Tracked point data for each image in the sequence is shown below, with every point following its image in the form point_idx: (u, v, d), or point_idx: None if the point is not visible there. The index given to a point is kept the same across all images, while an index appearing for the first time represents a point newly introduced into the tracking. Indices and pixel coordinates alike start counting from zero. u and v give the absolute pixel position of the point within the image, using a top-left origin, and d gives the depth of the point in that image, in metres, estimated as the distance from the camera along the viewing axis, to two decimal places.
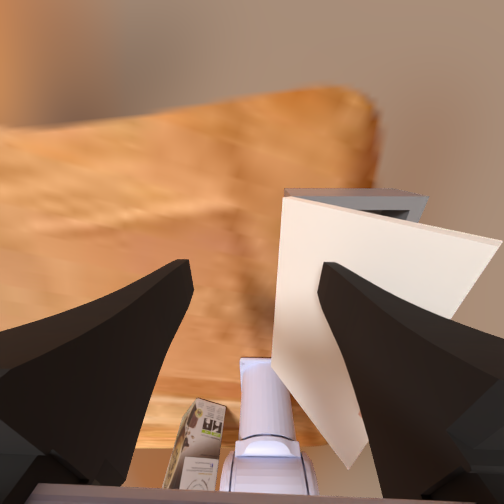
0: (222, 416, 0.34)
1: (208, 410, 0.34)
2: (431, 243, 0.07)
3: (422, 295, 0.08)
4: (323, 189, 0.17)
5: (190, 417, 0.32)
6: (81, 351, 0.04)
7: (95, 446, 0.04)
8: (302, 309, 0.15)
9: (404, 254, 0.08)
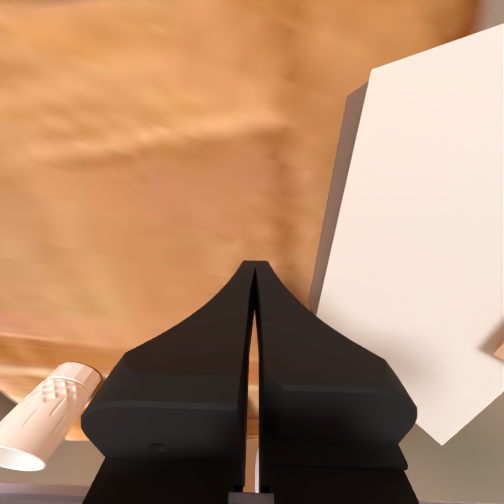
0: None
1: None
2: None
3: None
4: None
5: None
6: (244, 356, 0.04)
7: (244, 452, 0.04)
8: (385, 232, 0.11)
9: None
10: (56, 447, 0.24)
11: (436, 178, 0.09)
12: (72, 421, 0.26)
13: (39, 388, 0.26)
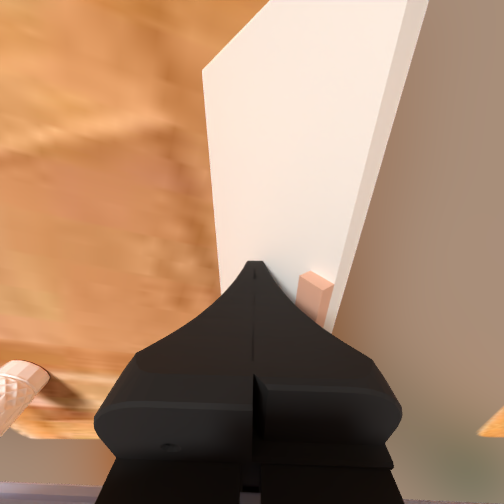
0: None
1: None
2: None
3: (342, 85, 0.04)
4: None
5: None
6: None
7: None
8: (235, 230, 0.11)
9: (315, 23, 0.05)
10: None
11: (245, 176, 0.09)
12: (11, 418, 0.26)
13: None
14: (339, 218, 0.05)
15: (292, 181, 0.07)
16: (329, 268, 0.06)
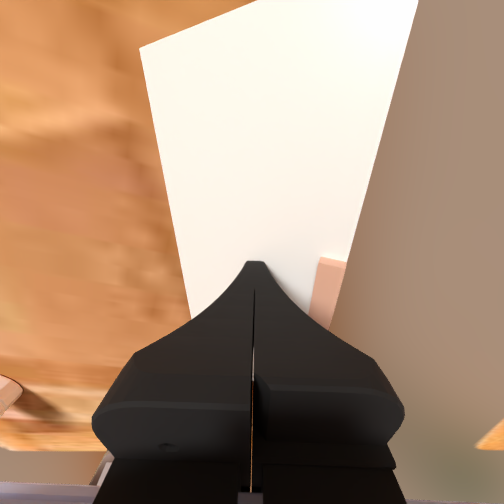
0: None
1: None
2: None
3: (351, 97, 0.05)
4: None
5: None
6: None
7: None
8: (213, 235, 0.10)
9: (321, 38, 0.05)
10: None
11: (229, 177, 0.08)
12: None
13: None
14: (350, 207, 0.07)
15: (297, 179, 0.07)
16: (341, 250, 0.07)
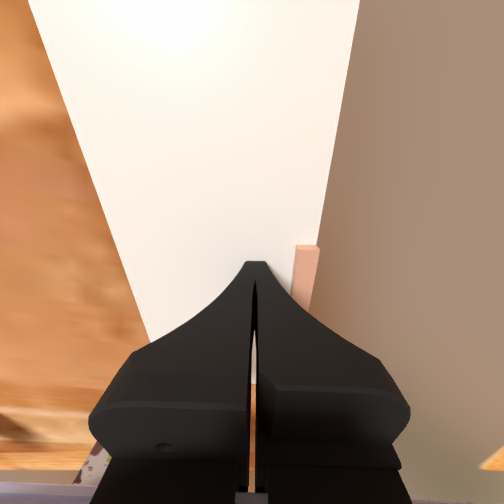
0: None
1: None
2: (307, 20, 0.06)
3: (311, 110, 0.07)
4: None
5: None
6: (249, 356, 0.04)
7: (248, 452, 0.04)
8: (178, 246, 0.09)
9: (284, 54, 0.06)
10: None
11: (195, 179, 0.08)
12: None
13: None
14: (316, 199, 0.08)
15: (271, 178, 0.08)
16: (311, 235, 0.09)
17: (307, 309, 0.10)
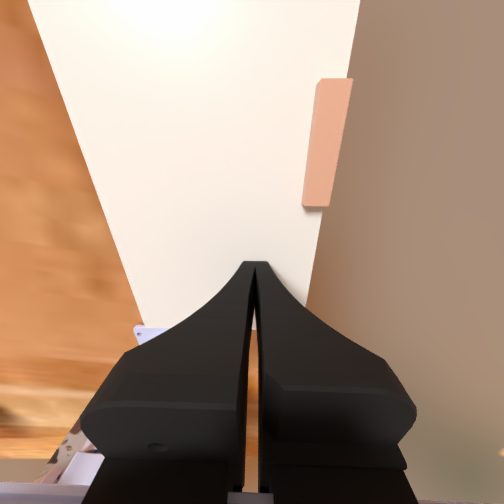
0: None
1: None
2: None
3: None
4: None
5: (79, 418, 0.22)
6: (243, 356, 0.04)
7: (243, 452, 0.04)
8: (149, 92, 0.06)
9: None
10: None
11: None
12: None
13: None
14: None
15: None
16: (339, 67, 0.06)
17: (328, 198, 0.07)
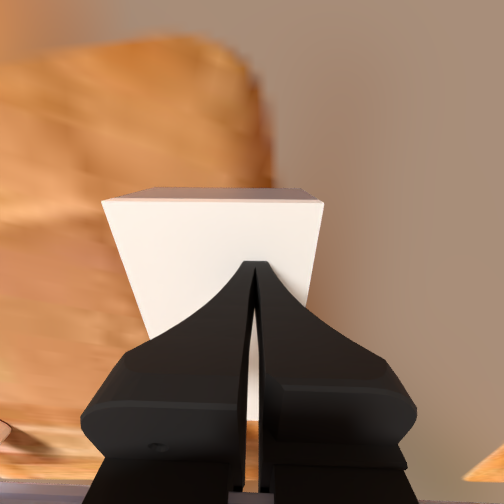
0: None
1: None
2: (289, 213, 0.08)
3: (294, 256, 0.09)
4: (201, 188, 0.12)
5: None
6: (244, 356, 0.04)
7: (243, 452, 0.04)
8: None
9: (274, 228, 0.09)
10: None
11: (210, 292, 0.10)
12: None
13: None
14: None
15: None
16: None
17: None
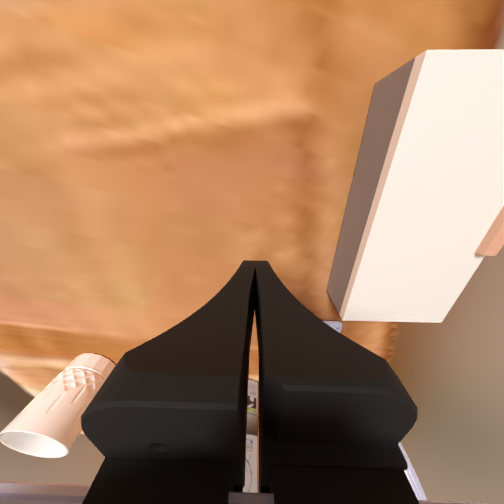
0: (255, 392, 0.31)
1: None
2: None
3: None
4: None
5: None
6: (244, 356, 0.04)
7: (244, 452, 0.04)
8: (422, 204, 0.13)
9: None
10: (78, 434, 0.24)
11: (462, 156, 0.12)
12: None
13: (59, 377, 0.26)
14: None
15: None
16: None
17: (497, 252, 0.14)
